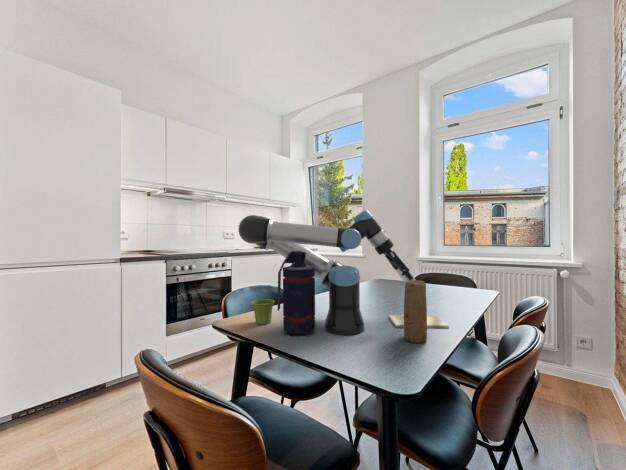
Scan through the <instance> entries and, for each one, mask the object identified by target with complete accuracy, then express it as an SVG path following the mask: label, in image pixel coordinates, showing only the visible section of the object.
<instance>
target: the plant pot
mask: <svg viewBox="0 0 626 470" xmlns="http://www.w3.org/2000/svg"><path fill="white" fill-rule="evenodd" d="M274 303H275V300H274V299H269V298H267V299H266V298H264V299H262V298H261V299H256V300H252V301H251V304H252V307H253V312H254V319H255V324H257V325H260V326H261V325H264V324H265V325H268V324H270V323H271V322H272V316H273V314H272V313H273V309H274V308H273V306H274Z"/></svg>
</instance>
